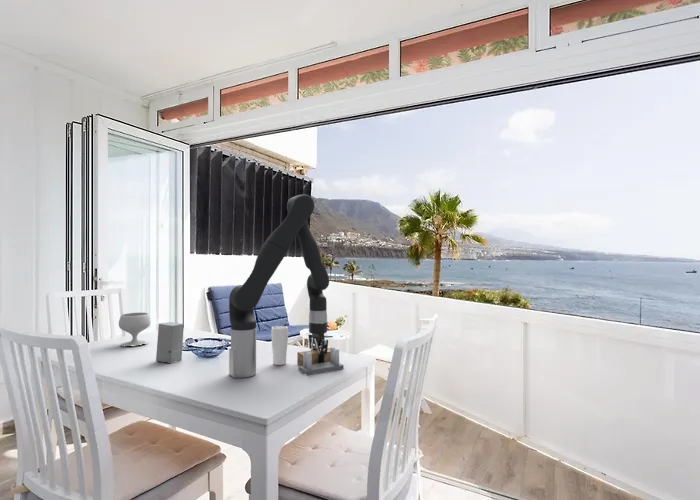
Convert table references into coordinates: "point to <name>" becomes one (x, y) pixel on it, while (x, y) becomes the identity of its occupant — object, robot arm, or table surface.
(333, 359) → the peg stand
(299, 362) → the brown rectangular block
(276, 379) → the table surface
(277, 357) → the drinking glass
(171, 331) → the skincare box
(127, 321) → the chalice
